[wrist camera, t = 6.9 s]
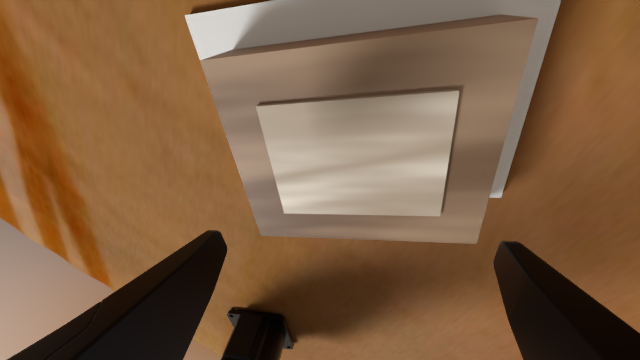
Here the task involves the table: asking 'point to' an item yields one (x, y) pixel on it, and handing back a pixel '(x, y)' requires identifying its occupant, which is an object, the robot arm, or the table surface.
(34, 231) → the table surface
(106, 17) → the table surface
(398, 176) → the walnut slab
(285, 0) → the mat
